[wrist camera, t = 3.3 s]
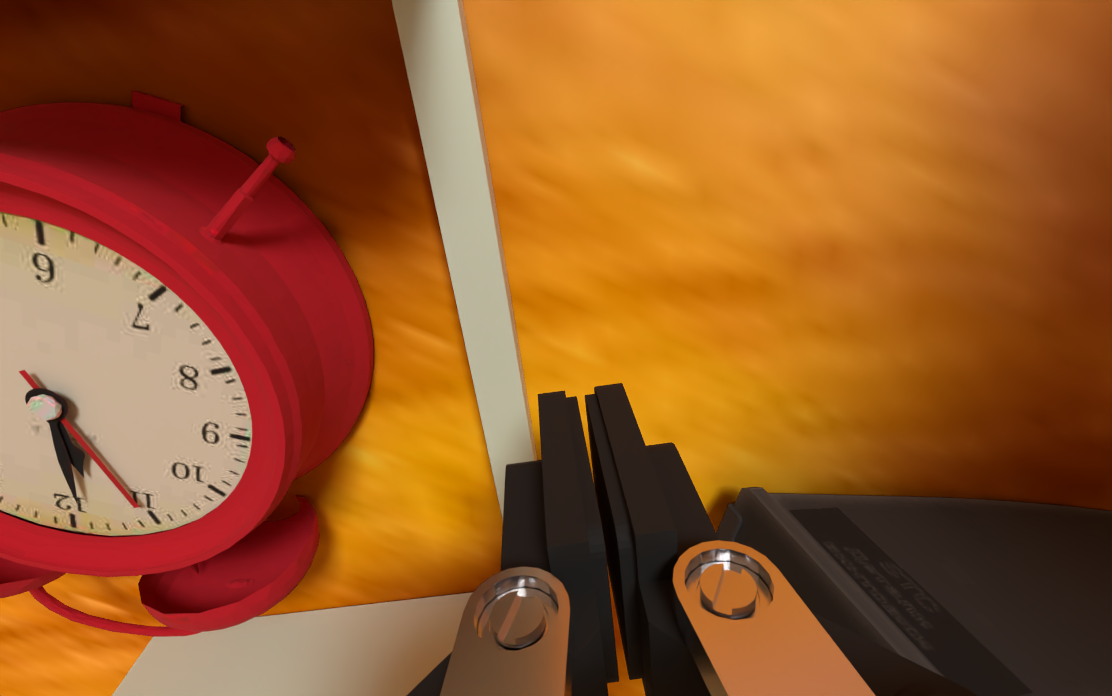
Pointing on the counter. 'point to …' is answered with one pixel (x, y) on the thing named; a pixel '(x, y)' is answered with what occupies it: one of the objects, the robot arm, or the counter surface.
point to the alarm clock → (164, 362)
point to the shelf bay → (494, 357)
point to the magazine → (950, 582)
